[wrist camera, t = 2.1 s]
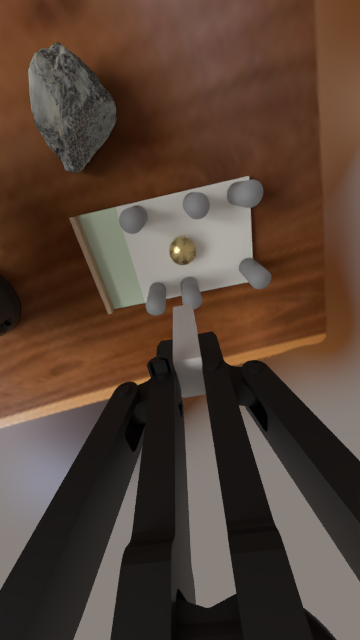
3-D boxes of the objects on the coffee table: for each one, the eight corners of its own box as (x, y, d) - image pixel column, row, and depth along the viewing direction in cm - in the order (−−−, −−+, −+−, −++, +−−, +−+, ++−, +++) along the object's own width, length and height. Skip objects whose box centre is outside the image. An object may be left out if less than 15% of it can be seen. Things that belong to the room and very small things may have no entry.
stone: (88, 147, 25) (18, 19, 20) (56, 182, 32) (-1, 93, 27) (143, 131, 30) (99, 26, 25) (106, 164, 37) (65, 87, 32)
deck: (111, 307, 46) (101, 328, 38) (76, 216, 37) (53, 221, 30) (254, 278, 44) (271, 294, 37) (250, 175, 35) (271, 171, 28)
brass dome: (172, 264, 40) (172, 267, 39) (166, 238, 38) (166, 241, 36) (196, 258, 40) (198, 262, 38) (192, 233, 38) (193, 235, 36)
